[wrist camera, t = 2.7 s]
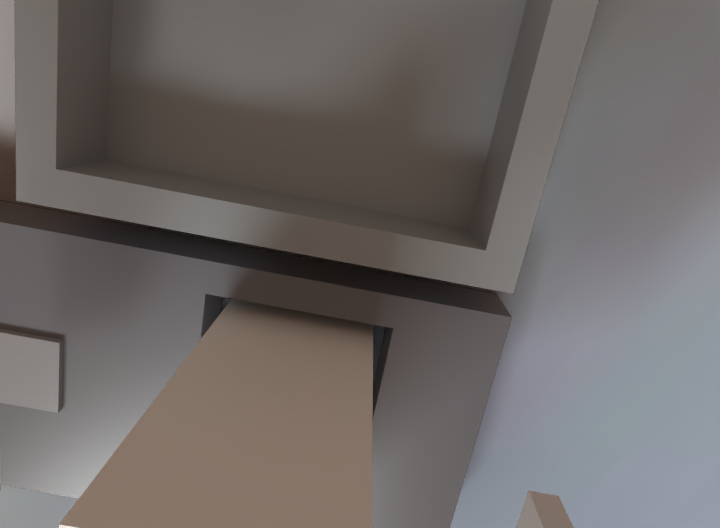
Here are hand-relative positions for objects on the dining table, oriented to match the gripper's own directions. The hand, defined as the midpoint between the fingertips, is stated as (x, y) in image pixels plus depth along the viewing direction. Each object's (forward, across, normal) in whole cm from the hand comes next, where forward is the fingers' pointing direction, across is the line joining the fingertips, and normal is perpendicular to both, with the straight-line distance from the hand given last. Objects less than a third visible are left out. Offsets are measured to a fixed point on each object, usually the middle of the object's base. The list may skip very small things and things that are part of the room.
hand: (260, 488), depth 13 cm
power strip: (+5, -6, 0) cm, 8 cm away
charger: (+5, 0, 0) cm, 5 cm away
